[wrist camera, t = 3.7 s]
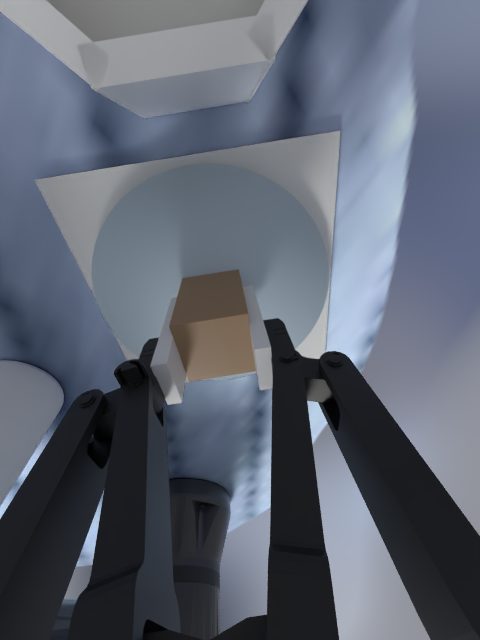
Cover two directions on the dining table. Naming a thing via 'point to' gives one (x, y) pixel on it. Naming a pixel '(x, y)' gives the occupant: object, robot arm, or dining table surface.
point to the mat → (264, 159)
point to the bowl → (162, 47)
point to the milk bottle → (23, 416)
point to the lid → (208, 265)
